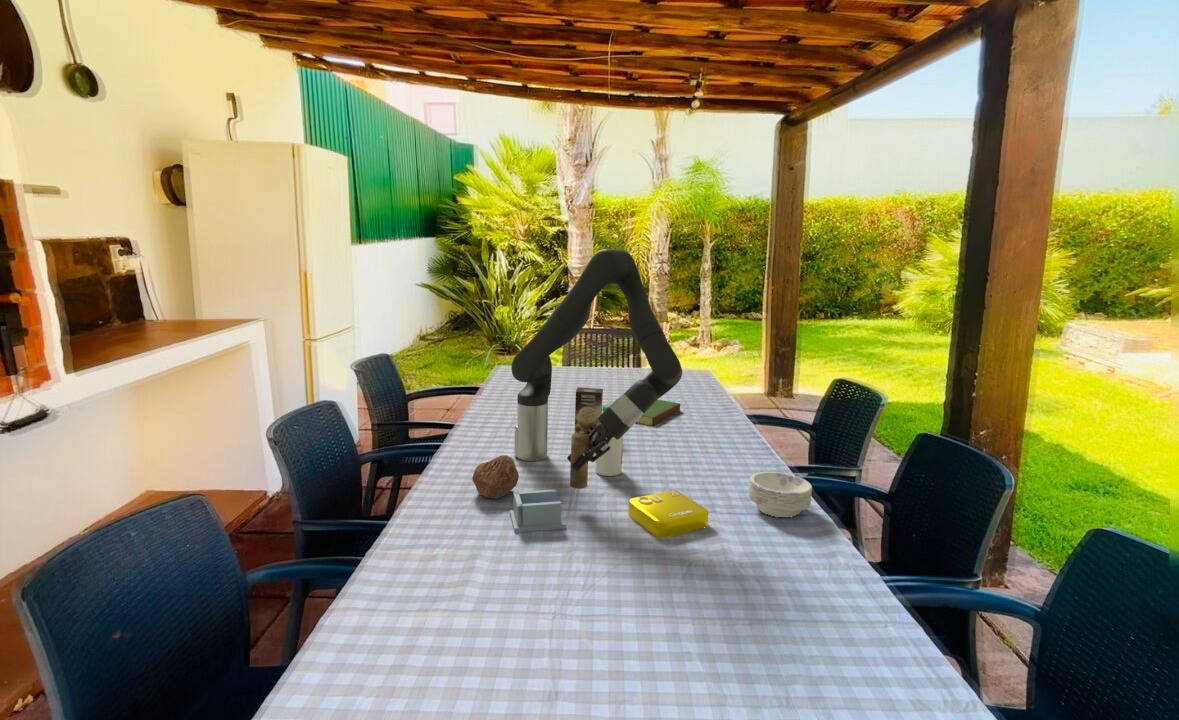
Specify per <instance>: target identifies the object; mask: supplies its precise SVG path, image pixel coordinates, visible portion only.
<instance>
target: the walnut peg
mask: <svg viewBox="0 0 1179 720" xmlns="http://www.w3.org/2000/svg"><path fill="white" fill-rule="evenodd" d="M570 442H571V443H570V454H571V462H570V468H569V469H570V471H569V472H570V473H569V474H570V475H569V486H570V488H573V489H576V490H580V489H581V490H582V489H586V488H587V487H588V480H589V479H588V477H589V475H588V474H589V461H587V462H586V463H585V464H584V465H583V466H582V467H581V468H580V469H579V470H578V471H576V470H575V469H573V468H572V466H571V464H572V463H573V462H574V461H575V460H576V459H577V458H578V457H579V456H580V455H582V453H583V452H584V451H585V449H586V448H587V447H586V446H587V444H588V443H589V435H588V434H584V433H575V434H574V433H572V434H571V440H570Z"/></svg>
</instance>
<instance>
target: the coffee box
mask: <svg viewBox="0 0 1179 720" xmlns="http://www.w3.org/2000/svg"><path fill="white" fill-rule="evenodd" d="M603 396H604V388H595V387H594V388H593V387H582V386H581V387H580V386H578V387H577V388H576V389H575V404H574V405H575V407H574V408H575V410H574V413H575V414H574V431H573V434H575V433H585V432H586V430H587V429H588V428H589V427H590V426H591V425H592V426H593V427H594V428H595V427H597V426H598V425H600V422H599V421H598V417H599V416H600V415H601V414H602V412H603V410H602V408H603V399H604V397H603Z"/></svg>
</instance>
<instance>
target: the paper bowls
mask: <svg viewBox="0 0 1179 720" xmlns="http://www.w3.org/2000/svg"><path fill="white" fill-rule="evenodd" d="M812 492H813V486H812V484H811V483H810V482H809V481H808V480H807V479H804V478H803V477H800V476H797V475H795V474H794V475H793V474H791V473H785V472H779V471H778V472H777V471H760V472H757V473H754V474H752V475H751V476H750V478H749V484H748V497H749V499H750V500H751V501H752V502H753V503H754V504H755V505H756V508H758V510H759V511H760V512H762V513H763V514H765V515H767V514H768V515H767V516H769V515H771V516H770V517H773V516H775V517H774V518H778V517H791V516H795V515H797V514H798V515H799V514H800V513H801V512H803V511H806V510H807V509H809V508H810V507H811V504H812V503H811V502H812ZM798 515H797V516H798ZM795 517H796V516H795ZM791 518H792V517H791Z"/></svg>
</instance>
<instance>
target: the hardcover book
mask: <svg viewBox="0 0 1179 720" xmlns="http://www.w3.org/2000/svg"><path fill="white" fill-rule="evenodd" d="M679 411H680V412H681V403H680V402H673V401H669V400H668V401H667V400H664V399H663V400H662V399H657V400H656V401H655V402H654V404H653V405H652V406H651V407H650V408H649V409H648V410H647V411H646V412H645V413H643V415H642V416H641V417H640V419H639V420H638V421H637V424H642V425H646V424H647V426H652V427H654V426H656V425H658V424H660V423H662V422H663V421H665V420H667V419H668V418H670V417H673V416H674V415H676V414H678V413H679ZM677 412H678V413H677ZM659 422H660V423H659Z"/></svg>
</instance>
